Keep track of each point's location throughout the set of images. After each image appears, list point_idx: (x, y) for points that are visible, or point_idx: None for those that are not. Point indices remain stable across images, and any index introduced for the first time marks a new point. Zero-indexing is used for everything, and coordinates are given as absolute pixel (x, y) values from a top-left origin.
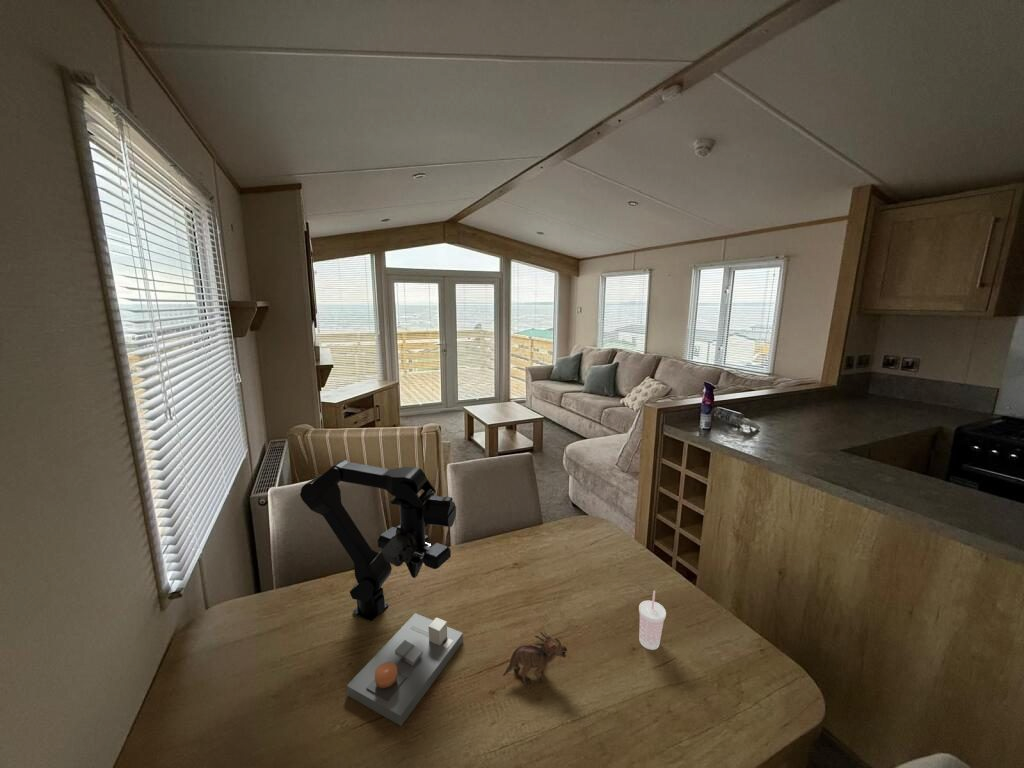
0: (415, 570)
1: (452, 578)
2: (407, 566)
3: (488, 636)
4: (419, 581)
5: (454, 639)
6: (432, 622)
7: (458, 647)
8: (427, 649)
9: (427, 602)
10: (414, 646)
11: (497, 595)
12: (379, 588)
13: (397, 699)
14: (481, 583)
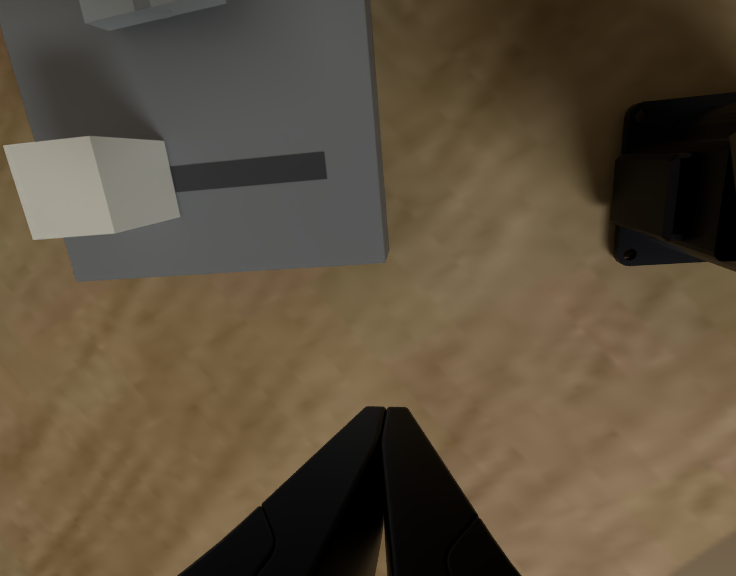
0: (278, 491)
1: None
2: (465, 512)
3: (57, 345)
4: (569, 472)
5: None
6: (97, 181)
7: None
8: (129, 89)
9: (426, 378)
10: (135, 8)
11: (185, 537)
12: (730, 145)
13: None
14: None
